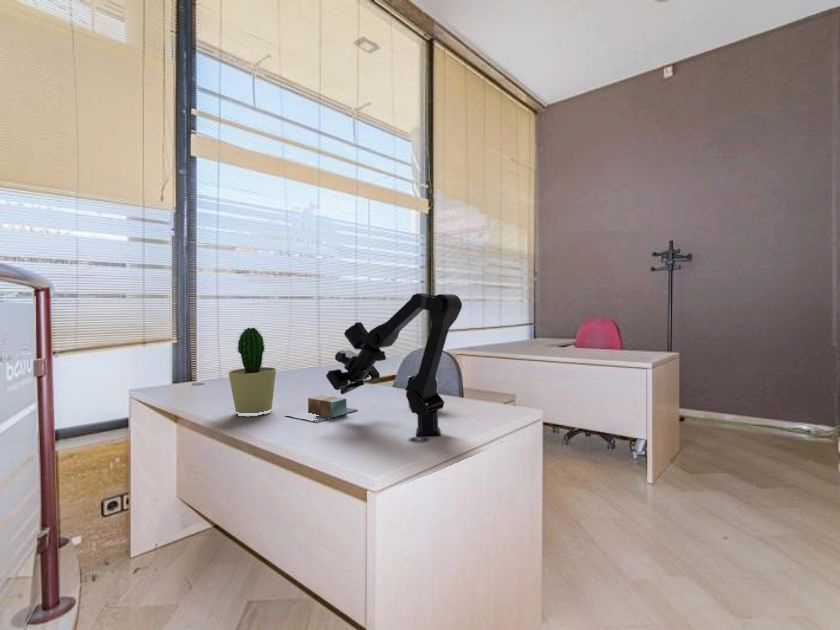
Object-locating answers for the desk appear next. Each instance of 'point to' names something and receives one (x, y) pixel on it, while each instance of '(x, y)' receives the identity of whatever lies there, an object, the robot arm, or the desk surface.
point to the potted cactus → (252, 376)
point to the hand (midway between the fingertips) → (341, 393)
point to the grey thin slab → (331, 417)
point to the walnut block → (327, 406)
